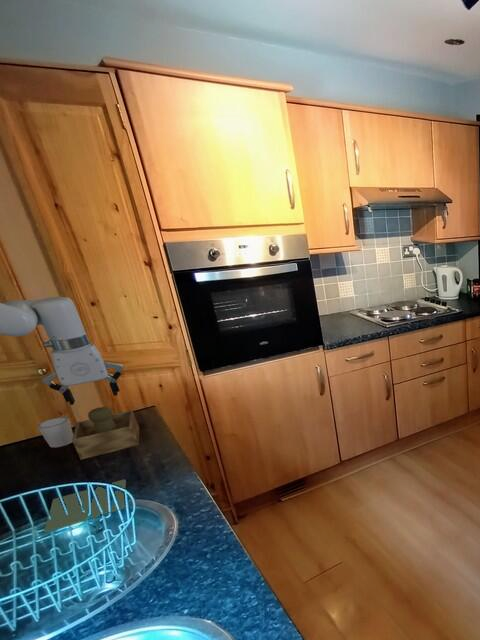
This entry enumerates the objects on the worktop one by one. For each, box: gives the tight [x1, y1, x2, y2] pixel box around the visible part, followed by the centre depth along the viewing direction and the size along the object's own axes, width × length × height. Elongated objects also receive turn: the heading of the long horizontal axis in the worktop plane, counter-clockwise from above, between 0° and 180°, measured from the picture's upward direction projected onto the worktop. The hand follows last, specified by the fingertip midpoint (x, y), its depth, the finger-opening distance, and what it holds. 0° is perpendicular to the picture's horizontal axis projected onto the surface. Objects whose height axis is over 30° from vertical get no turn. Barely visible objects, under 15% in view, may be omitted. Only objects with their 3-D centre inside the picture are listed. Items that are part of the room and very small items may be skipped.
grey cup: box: [36, 416, 74, 448], centre depth 135 cm, size 7×7×7 cm
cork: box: [87, 406, 118, 434], centre depth 134 cm, size 6×6×11 cm
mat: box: [44, 478, 127, 534], centre depth 110 cm, size 14×14×1 cm
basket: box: [72, 409, 140, 460], centre depth 135 cm, size 13×13×6 cm
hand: (94, 398), depth 131 cm, fingers open, 9 cm apart
